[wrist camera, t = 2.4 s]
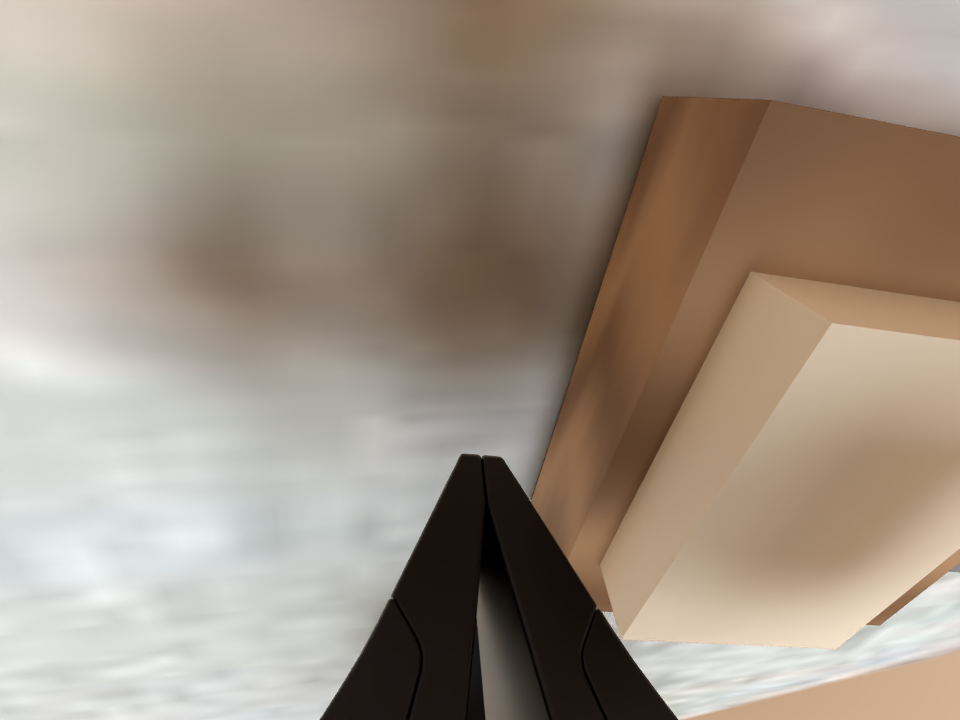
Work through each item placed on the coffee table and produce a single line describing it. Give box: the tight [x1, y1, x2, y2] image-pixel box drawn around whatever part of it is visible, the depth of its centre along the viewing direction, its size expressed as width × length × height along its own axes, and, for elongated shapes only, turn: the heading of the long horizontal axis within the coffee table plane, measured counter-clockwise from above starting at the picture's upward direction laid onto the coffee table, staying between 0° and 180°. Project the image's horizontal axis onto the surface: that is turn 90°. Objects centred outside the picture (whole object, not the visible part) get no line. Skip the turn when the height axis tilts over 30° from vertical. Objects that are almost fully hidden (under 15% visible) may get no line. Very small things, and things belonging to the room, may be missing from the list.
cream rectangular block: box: [600, 272, 960, 649], centre depth 9 cm, size 9×6×2 cm, turn 171°
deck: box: [531, 96, 960, 625], centre depth 12 cm, size 14×12×4 cm
